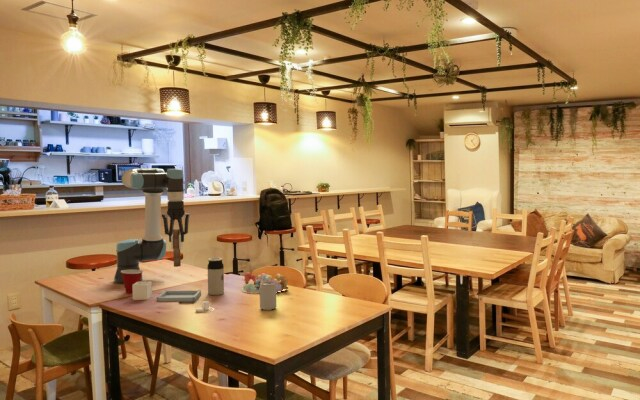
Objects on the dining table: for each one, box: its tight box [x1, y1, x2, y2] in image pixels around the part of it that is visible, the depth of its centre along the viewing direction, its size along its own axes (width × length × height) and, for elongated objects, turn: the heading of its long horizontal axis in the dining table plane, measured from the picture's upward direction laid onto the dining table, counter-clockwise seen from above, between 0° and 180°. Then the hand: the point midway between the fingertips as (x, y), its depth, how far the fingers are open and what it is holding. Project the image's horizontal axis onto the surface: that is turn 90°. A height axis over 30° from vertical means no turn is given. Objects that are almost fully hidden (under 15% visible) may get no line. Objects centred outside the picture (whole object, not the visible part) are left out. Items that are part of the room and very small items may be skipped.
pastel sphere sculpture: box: [241, 271, 289, 295], centre depth 262 cm, size 25×24×9 cm
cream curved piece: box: [195, 300, 215, 313], centre depth 224 cm, size 9×8×4 cm
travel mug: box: [207, 257, 225, 296], centre depth 253 cm, size 8×8×18 cm
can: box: [259, 282, 277, 311], centre depth 225 cm, size 8×8×12 cm
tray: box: [156, 289, 202, 304], centre depth 244 cm, size 14×18×2 cm
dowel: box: [172, 228, 182, 268], centre depth 242 cm, size 3×3×18 cm
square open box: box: [132, 281, 153, 301], centre depth 243 cm, size 7×7×8 cm
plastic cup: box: [121, 269, 144, 295], centre depth 255 cm, size 11×11×12 cm
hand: (176, 248), depth 242 cm, fingers closed on dowel, 3 cm apart
